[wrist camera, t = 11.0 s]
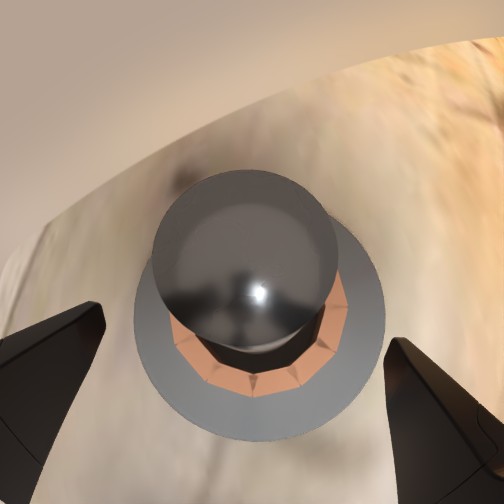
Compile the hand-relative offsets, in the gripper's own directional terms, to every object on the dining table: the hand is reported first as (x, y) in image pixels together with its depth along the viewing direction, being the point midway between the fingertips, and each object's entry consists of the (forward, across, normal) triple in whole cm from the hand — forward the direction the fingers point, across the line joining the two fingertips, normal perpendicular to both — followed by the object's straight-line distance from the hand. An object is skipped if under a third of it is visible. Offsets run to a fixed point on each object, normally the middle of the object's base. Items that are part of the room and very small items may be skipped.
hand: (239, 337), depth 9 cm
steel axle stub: (+8, 0, +5) cm, 10 cm away
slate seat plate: (+9, 0, +6) cm, 11 cm away
